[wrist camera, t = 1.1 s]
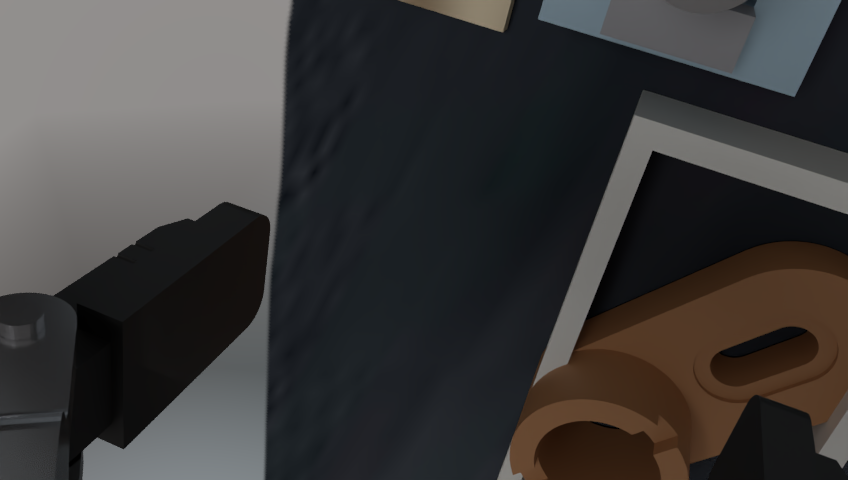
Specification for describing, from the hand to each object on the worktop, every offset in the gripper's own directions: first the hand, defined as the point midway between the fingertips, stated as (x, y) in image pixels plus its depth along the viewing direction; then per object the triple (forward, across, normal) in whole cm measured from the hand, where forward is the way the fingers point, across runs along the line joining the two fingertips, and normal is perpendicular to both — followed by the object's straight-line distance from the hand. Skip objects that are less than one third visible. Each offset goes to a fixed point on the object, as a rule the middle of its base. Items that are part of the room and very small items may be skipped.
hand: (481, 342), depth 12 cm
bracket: (+26, -8, +15) cm, 31 cm away
